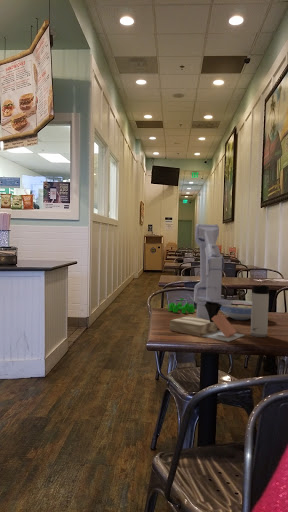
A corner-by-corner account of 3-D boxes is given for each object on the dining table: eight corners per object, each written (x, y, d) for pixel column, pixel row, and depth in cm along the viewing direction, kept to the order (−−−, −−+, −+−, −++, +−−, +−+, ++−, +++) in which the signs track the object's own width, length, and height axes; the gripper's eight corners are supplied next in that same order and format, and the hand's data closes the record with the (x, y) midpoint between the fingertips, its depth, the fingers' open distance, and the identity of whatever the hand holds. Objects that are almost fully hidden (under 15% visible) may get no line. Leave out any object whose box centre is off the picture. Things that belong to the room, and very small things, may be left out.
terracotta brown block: (218, 317, 159) (221, 313, 158) (233, 335, 155) (237, 331, 154) (211, 318, 154) (214, 315, 153) (226, 337, 150) (229, 334, 149)
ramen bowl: (262, 316, 202) (262, 299, 202) (272, 325, 179) (272, 306, 179) (211, 313, 204) (212, 297, 204) (215, 322, 182) (216, 304, 181)
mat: (219, 331, 163) (219, 330, 163) (244, 335, 156) (244, 334, 156) (202, 336, 152) (202, 335, 152) (228, 341, 145) (228, 340, 145)
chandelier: (201, 312, 209) (201, 299, 208) (185, 315, 197) (186, 301, 197) (177, 308, 218) (177, 295, 218) (161, 311, 206) (161, 298, 206)
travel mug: (253, 337, 153) (256, 285, 153) (248, 333, 160) (250, 283, 159) (269, 337, 154) (272, 285, 153) (263, 333, 160) (265, 284, 160)
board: (188, 325, 172) (188, 316, 172) (217, 330, 164) (217, 320, 164) (169, 330, 161) (169, 320, 161) (199, 336, 153) (200, 325, 153)
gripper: (192, 286, 158) (191, 320, 159) (226, 289, 149) (224, 326, 150) (201, 285, 164) (200, 318, 164) (234, 288, 155) (233, 323, 155)
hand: (212, 321), depth 157 cm, fingers closed
